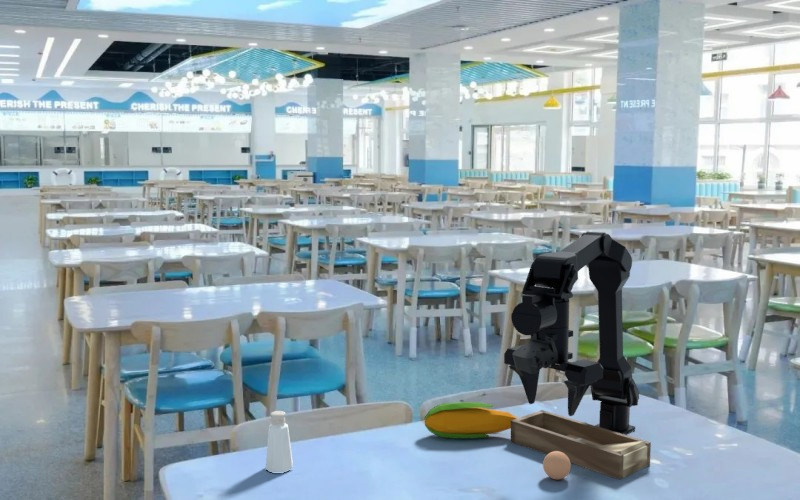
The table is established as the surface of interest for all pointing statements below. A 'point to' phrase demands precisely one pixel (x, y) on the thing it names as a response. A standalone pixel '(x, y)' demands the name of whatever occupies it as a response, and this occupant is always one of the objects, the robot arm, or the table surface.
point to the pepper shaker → (278, 444)
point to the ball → (556, 465)
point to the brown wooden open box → (582, 443)
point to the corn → (466, 420)
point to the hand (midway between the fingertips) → (550, 409)
